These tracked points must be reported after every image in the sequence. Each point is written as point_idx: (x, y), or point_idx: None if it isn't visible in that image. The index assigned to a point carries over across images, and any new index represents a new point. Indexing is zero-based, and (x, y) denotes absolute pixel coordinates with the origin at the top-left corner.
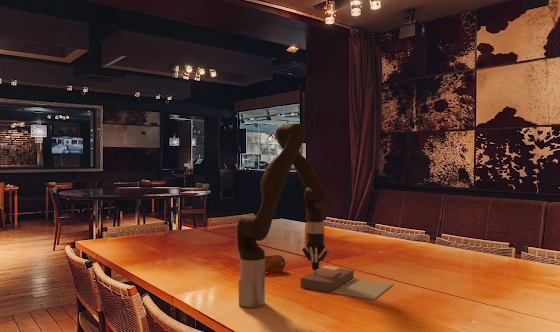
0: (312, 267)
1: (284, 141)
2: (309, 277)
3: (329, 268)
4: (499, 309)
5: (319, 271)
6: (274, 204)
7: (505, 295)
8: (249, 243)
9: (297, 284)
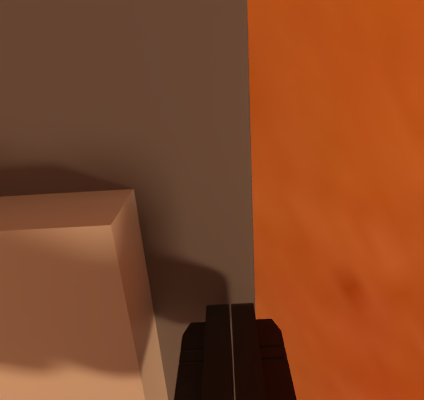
0: (273, 335)
1: None
2: (134, 5)
3: (6, 383)
4: None
5: (55, 219)
6: None
7: None
8: None
9: (337, 24)
